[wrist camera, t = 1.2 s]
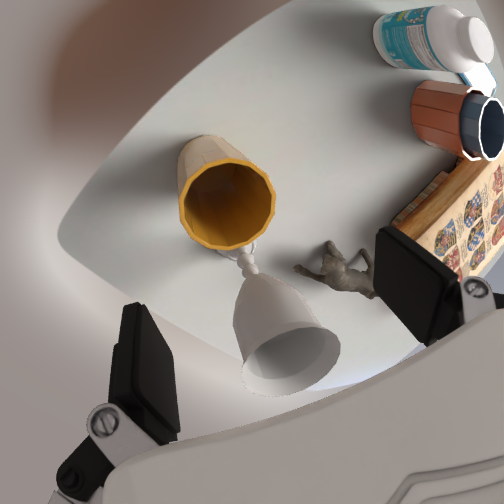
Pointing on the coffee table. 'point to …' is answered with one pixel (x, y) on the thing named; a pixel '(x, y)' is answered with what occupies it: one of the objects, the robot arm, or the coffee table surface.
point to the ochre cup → (222, 194)
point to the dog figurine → (343, 273)
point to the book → (460, 215)
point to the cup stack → (458, 119)
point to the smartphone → (481, 78)
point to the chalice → (277, 333)
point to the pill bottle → (433, 39)
